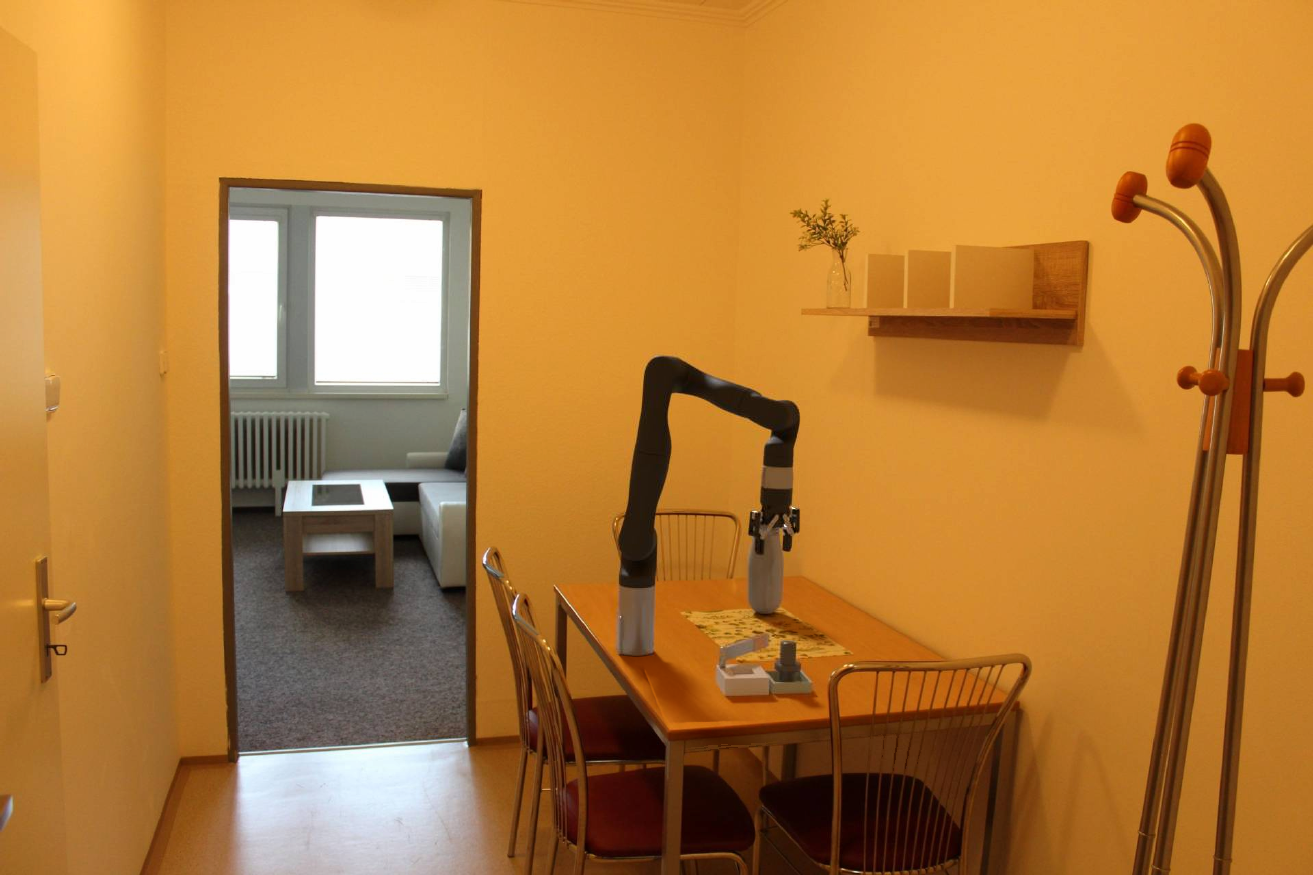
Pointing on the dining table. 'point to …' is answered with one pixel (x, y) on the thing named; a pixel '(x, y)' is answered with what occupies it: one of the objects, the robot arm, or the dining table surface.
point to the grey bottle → (766, 574)
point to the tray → (789, 683)
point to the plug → (787, 662)
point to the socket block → (742, 680)
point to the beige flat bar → (742, 648)
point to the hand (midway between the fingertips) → (773, 552)
